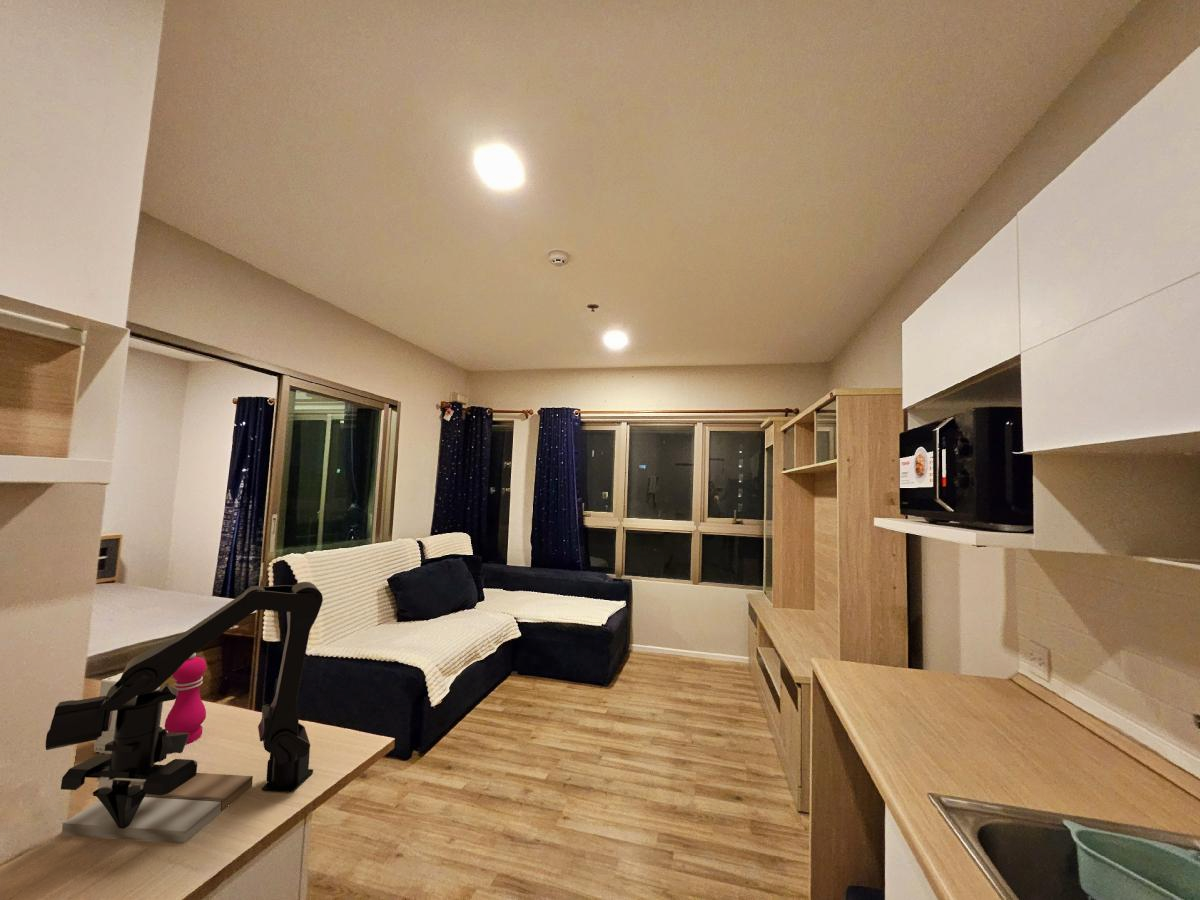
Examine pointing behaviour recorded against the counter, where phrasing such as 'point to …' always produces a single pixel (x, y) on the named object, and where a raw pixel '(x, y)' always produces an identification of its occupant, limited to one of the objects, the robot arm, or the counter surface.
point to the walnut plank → (211, 788)
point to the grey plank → (146, 821)
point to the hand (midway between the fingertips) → (124, 826)
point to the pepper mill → (188, 700)
